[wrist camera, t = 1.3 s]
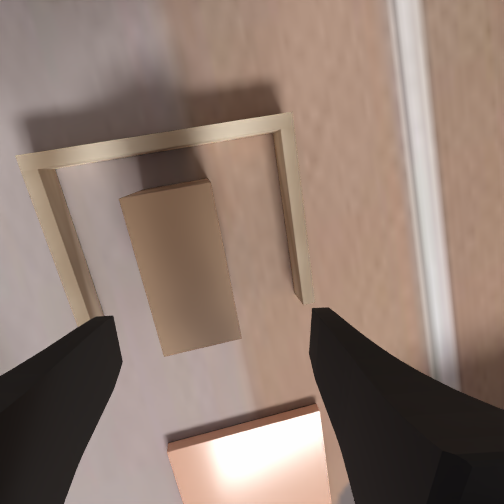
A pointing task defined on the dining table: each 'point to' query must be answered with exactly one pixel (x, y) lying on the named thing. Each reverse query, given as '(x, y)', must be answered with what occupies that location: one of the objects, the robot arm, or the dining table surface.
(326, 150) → the dining table surface
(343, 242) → the dining table surface
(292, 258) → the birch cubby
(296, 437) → the terracotta tile
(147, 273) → the walnut block
